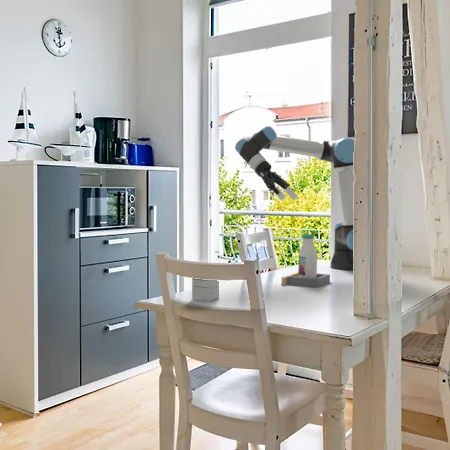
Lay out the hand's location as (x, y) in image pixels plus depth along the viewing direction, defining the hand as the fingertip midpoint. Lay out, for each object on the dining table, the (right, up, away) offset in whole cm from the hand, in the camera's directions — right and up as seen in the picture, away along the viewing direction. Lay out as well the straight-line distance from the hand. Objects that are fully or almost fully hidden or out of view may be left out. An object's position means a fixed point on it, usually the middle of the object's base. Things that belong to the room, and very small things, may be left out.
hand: (289, 198), depth 252 cm
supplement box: (-37, -39, -50) cm, 73 cm away
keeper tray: (+6, -37, -15) cm, 40 cm away
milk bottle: (+6, -36, -14) cm, 39 cm away
